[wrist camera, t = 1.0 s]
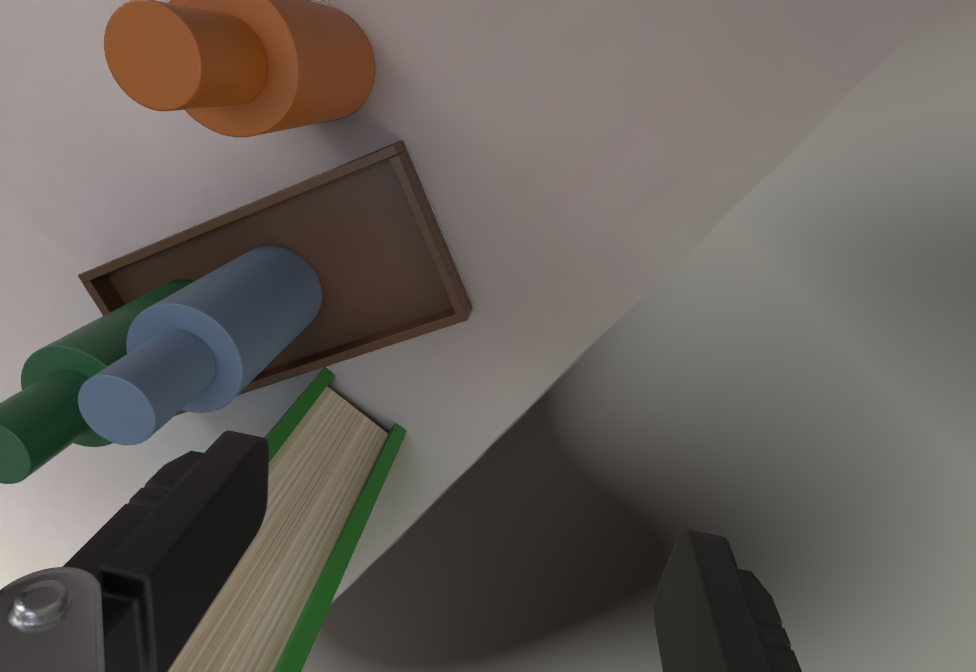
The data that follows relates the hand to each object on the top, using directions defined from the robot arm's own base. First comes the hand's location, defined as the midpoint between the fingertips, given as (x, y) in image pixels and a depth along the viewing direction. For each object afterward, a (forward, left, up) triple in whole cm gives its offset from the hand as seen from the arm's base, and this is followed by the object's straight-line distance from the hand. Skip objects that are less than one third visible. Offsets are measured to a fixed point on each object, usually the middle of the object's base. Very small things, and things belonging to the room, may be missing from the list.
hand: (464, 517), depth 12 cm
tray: (-1, -17, -28) cm, 33 cm away
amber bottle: (-12, -8, -28) cm, 31 cm away
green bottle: (-1, -24, -27) cm, 36 cm away
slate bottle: (-1, -17, -27) cm, 32 cm away
